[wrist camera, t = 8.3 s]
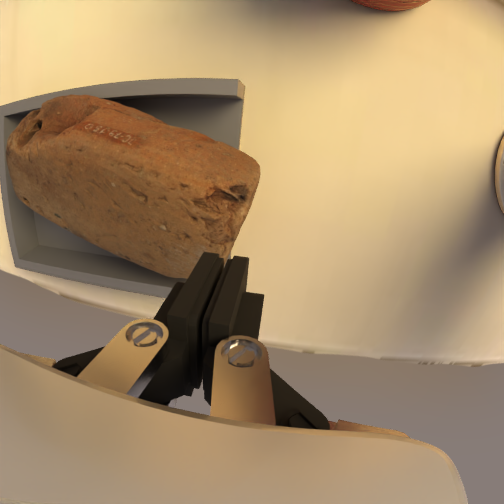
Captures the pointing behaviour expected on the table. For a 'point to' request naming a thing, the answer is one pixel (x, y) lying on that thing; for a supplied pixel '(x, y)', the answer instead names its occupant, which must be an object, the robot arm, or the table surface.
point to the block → (131, 182)
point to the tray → (77, 249)
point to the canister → (391, 4)
